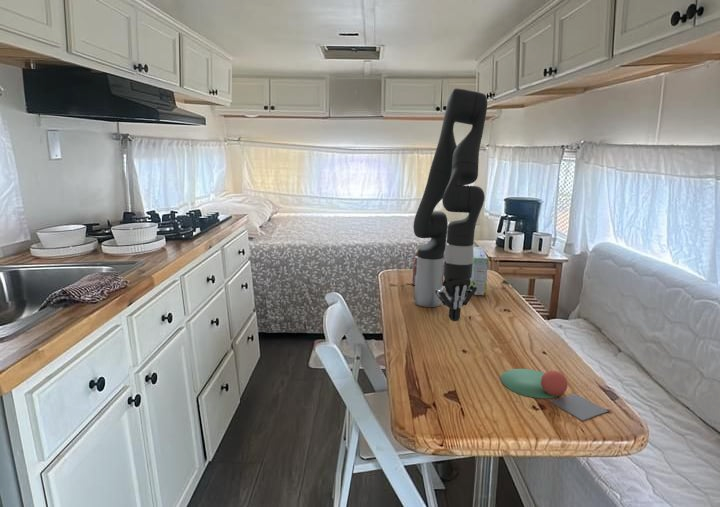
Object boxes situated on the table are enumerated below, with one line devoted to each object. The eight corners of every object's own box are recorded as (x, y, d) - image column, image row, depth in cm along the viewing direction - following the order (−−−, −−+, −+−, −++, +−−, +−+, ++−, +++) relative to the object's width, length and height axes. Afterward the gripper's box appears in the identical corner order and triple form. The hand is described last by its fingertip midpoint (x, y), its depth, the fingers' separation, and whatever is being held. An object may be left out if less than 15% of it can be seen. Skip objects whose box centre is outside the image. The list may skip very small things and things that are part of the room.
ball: (541, 399, 103) (532, 375, 105) (557, 393, 106) (548, 369, 107) (559, 397, 98) (549, 372, 100) (576, 390, 101) (566, 366, 102)
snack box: (466, 280, 196) (469, 246, 192) (480, 281, 195) (482, 246, 192) (471, 295, 175) (474, 257, 172) (486, 296, 174) (489, 258, 171)
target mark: (488, 376, 111) (488, 375, 111) (530, 365, 117) (530, 364, 117) (533, 404, 99) (533, 403, 99) (577, 390, 105) (577, 389, 105)
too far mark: (550, 402, 100) (550, 401, 100) (575, 394, 104) (575, 393, 104) (582, 421, 93) (582, 420, 93) (607, 411, 97) (608, 410, 97)
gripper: (469, 254, 129) (464, 312, 133) (430, 258, 124) (426, 319, 128) (487, 261, 123) (481, 321, 127) (447, 265, 117) (442, 328, 121)
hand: (453, 320), depth 127 cm, fingers closed
